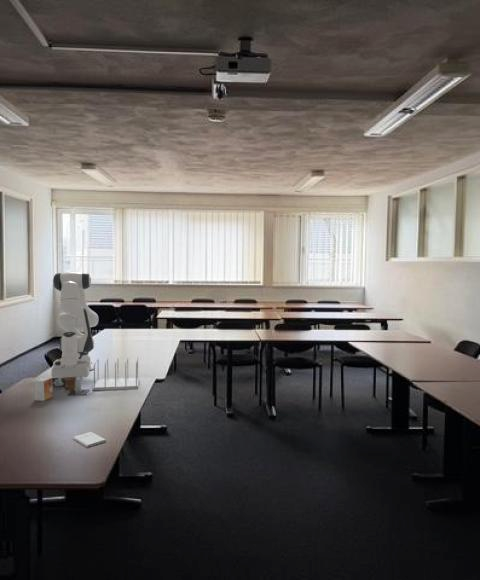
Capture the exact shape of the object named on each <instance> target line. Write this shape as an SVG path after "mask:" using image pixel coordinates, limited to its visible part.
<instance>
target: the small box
mask: <svg viewBox="0 0 480 580" xmlns="http://www.w3.org/2000/svg"><path fill="white" fill-rule="evenodd" d="M53 389H54V387H53V379H52V377H47V376H46V377H44V376H43V377H41V378H39V379H36V380H34V400H35V401H40V402H42V401H43V402H45V401H46V400H49V399H51V398H53V397H54V390H53Z"/></svg>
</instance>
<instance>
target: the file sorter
mask: <svg viewBox="0 0 480 580" xmlns="http://www.w3.org/2000/svg"><path fill="white" fill-rule="evenodd" d="M135 359H136V360H135V377H129V357H126V359H125V362H124V372H125V373H124V376H125V378H124V377H123V378H120V377H118V378H117V374H119V357H117V358H116V360H115V361H114V362H115V363H114V378H110V377H109V376H110V375H109V358H108V357H106V358H105V361H104V378H101V379H100V378H99V376H100V375H99V374H100V373H99V371H100V370H99V369H100V368H99V365H100V364H99V361H100V360H99V358H96V359H95V362H94V363H93V364H94V370H93V387H92V391H112V390H114V391H115V390H134V389H135V390H137V389H139V386H140V377H139V356H136V358H135ZM96 364H97V379H96Z"/></svg>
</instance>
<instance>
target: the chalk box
mask: <svg viewBox="0 0 480 580" xmlns="http://www.w3.org/2000/svg"><path fill="white" fill-rule="evenodd" d="M51 378H52V377H51ZM52 379H53V388H54V387H65V378H62V379H61V380H62V382H64V385H63V386H61V385H60V382H59V380H58V378H52Z"/></svg>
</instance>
